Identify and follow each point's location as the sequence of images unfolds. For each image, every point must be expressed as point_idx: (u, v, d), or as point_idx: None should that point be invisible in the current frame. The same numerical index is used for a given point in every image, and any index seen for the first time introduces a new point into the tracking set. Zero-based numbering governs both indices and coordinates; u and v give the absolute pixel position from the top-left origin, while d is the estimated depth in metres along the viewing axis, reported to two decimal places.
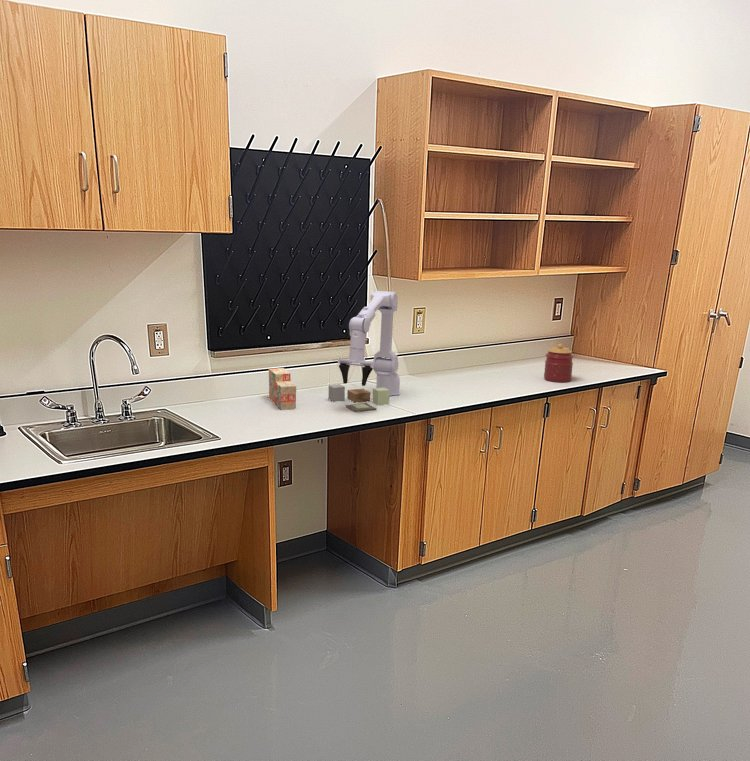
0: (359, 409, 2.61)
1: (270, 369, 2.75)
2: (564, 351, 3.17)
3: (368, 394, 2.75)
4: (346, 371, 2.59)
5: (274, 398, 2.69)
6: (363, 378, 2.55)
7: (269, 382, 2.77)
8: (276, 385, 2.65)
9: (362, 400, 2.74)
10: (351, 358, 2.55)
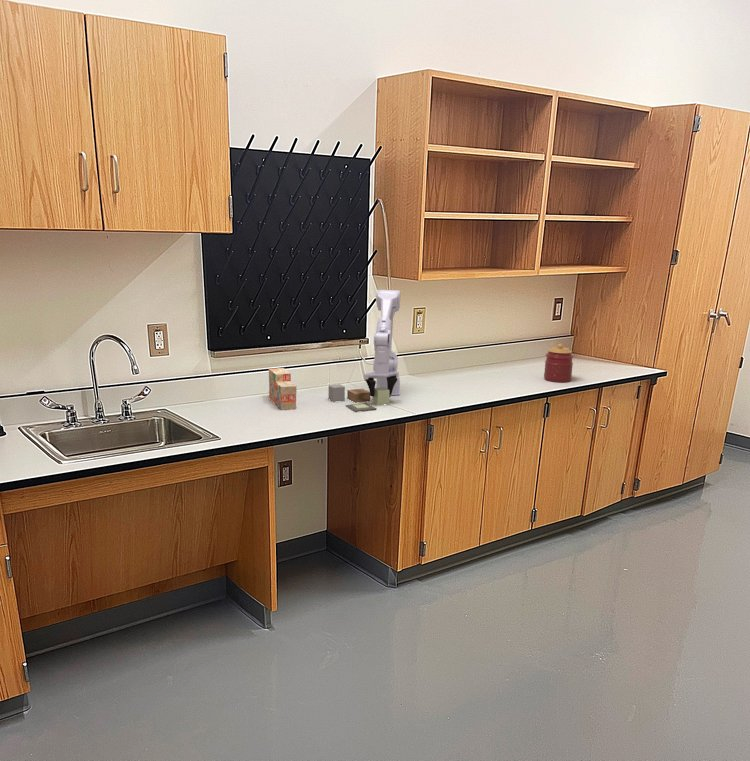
0: (359, 409, 2.61)
1: (270, 369, 2.75)
2: (564, 351, 3.17)
3: (368, 394, 2.75)
4: None
5: (274, 398, 2.69)
6: (392, 388, 2.72)
7: (269, 382, 2.76)
8: (276, 385, 2.64)
9: (362, 400, 2.74)
10: (382, 372, 2.67)
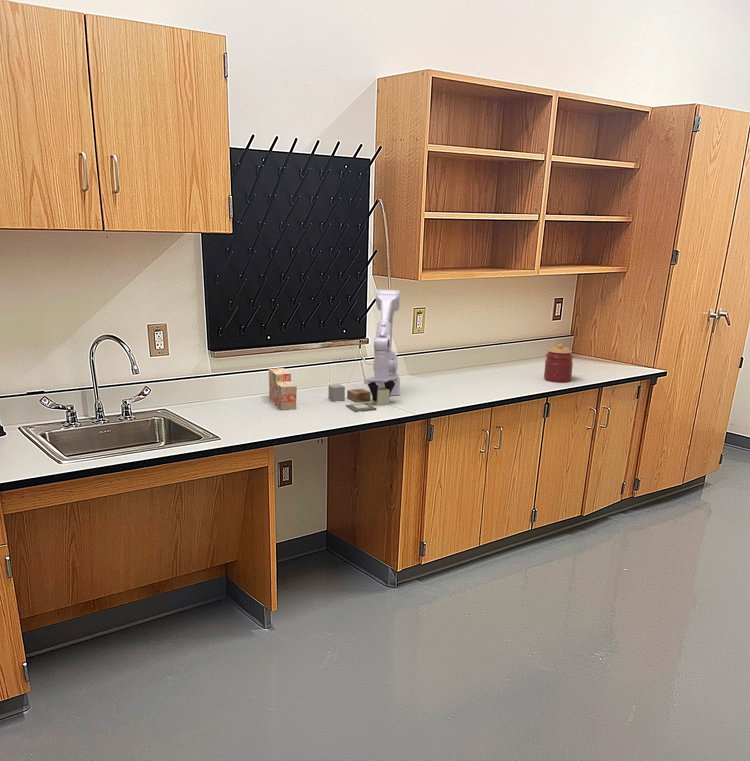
0: (359, 409, 2.61)
1: (270, 369, 2.74)
2: (564, 351, 3.17)
3: (368, 394, 2.75)
4: None
5: (274, 398, 2.69)
6: (389, 393, 2.72)
7: (269, 382, 2.76)
8: (276, 385, 2.64)
9: (362, 400, 2.74)
10: (382, 377, 2.68)
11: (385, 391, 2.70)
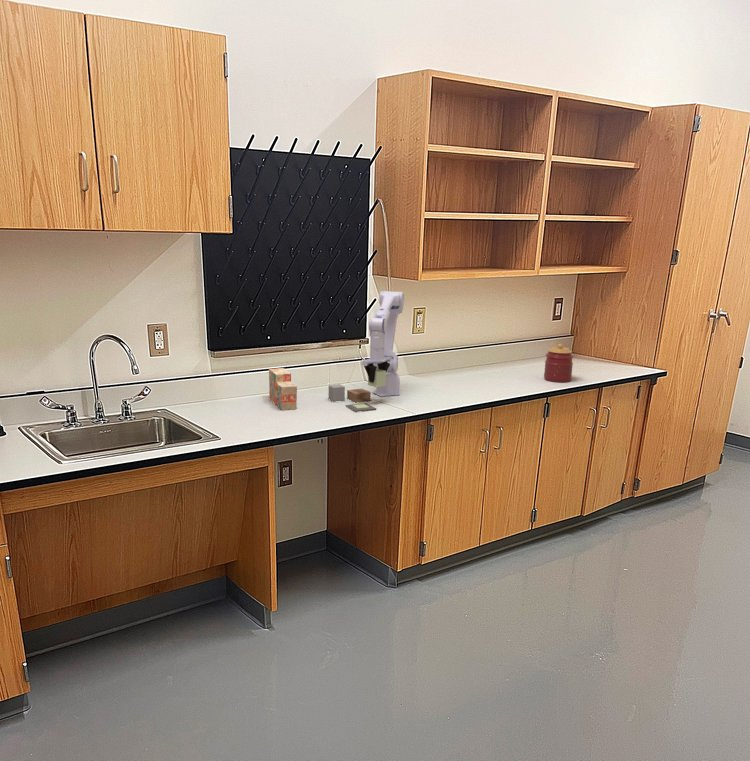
0: (359, 409, 2.61)
1: (270, 369, 2.74)
2: (564, 351, 3.17)
3: (368, 394, 2.75)
4: None
5: (274, 398, 2.69)
6: None
7: (269, 382, 2.76)
8: (277, 385, 2.64)
9: (363, 400, 2.74)
10: (380, 358, 2.67)
11: (382, 372, 2.70)
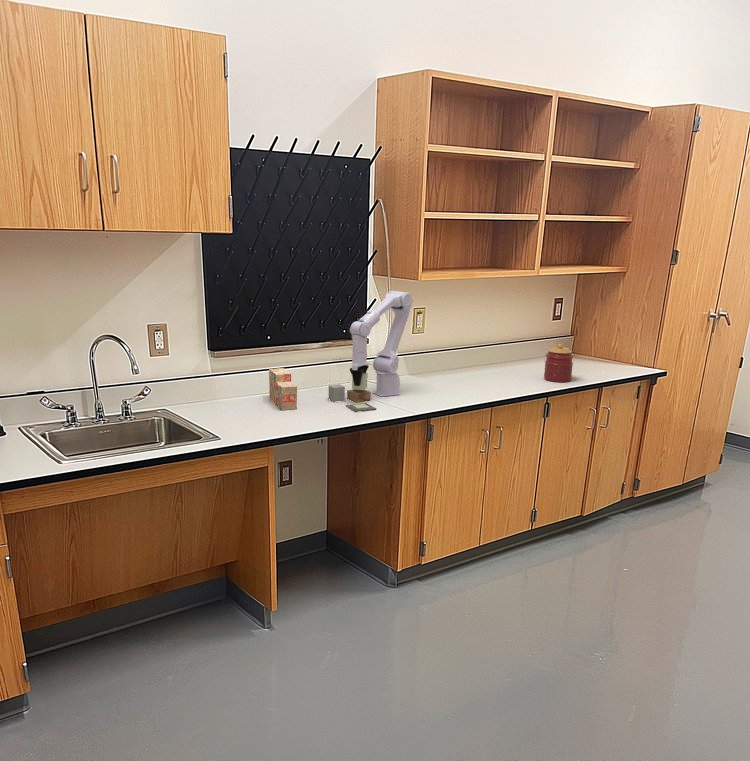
0: (359, 409, 2.61)
1: (270, 369, 2.74)
2: (564, 351, 3.17)
3: (368, 394, 2.75)
4: None
5: (275, 398, 2.69)
6: None
7: (269, 382, 2.76)
8: (277, 385, 2.64)
9: (363, 400, 2.74)
10: (365, 361, 2.72)
11: (366, 375, 2.75)
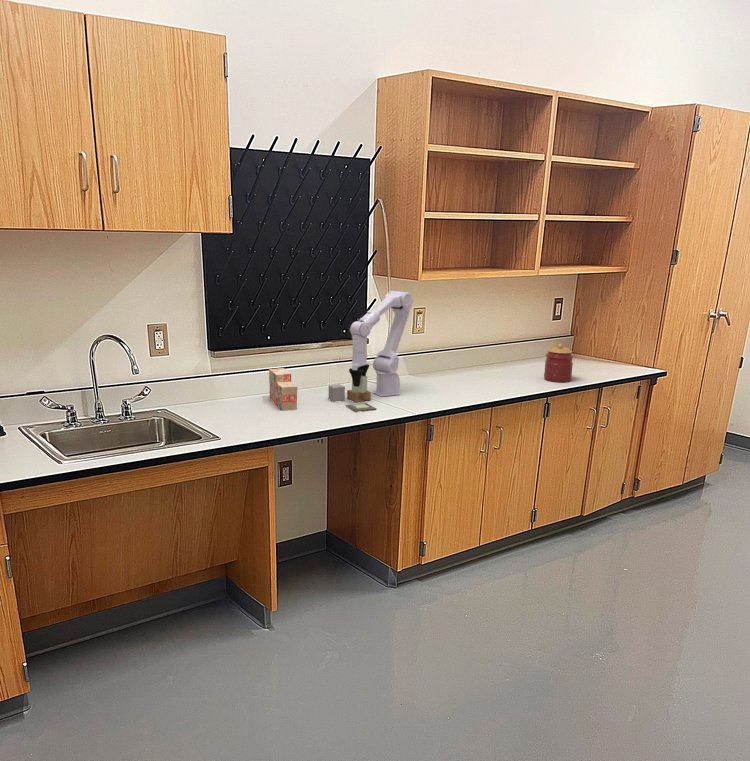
0: (359, 409, 2.61)
1: (270, 369, 2.74)
2: (564, 351, 3.17)
3: (368, 394, 2.75)
4: None
5: (275, 399, 2.68)
6: (365, 375, 2.79)
7: (269, 382, 2.76)
8: (277, 386, 2.64)
9: (363, 400, 2.74)
10: (365, 361, 2.72)
11: (366, 378, 2.75)
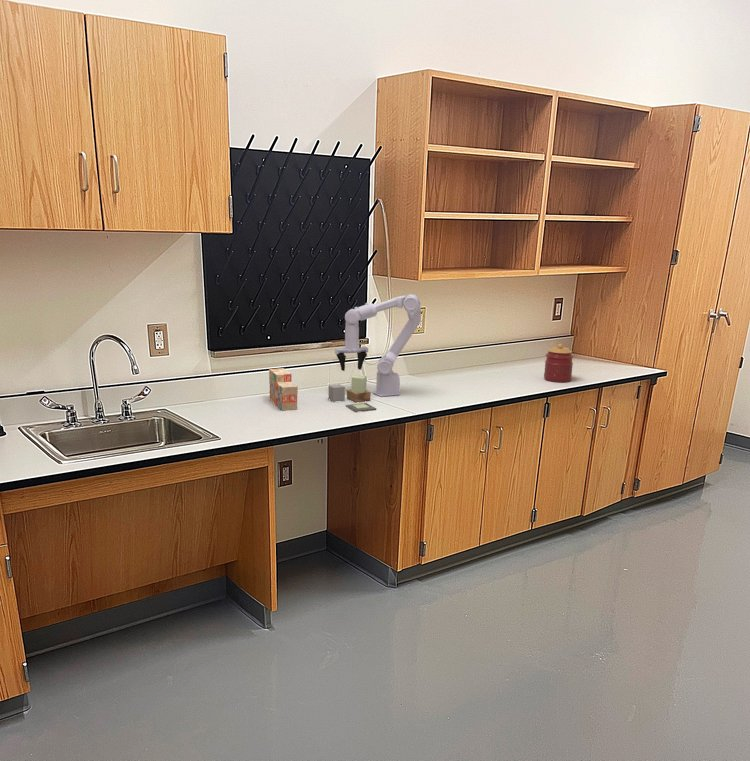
0: (359, 409, 2.61)
1: (271, 370, 2.74)
2: (564, 351, 3.17)
3: (368, 394, 2.75)
4: None
5: (275, 399, 2.68)
6: (361, 363, 2.87)
7: (270, 383, 2.75)
8: (277, 386, 2.64)
9: (363, 400, 2.74)
10: (352, 347, 2.82)
11: (365, 378, 2.75)
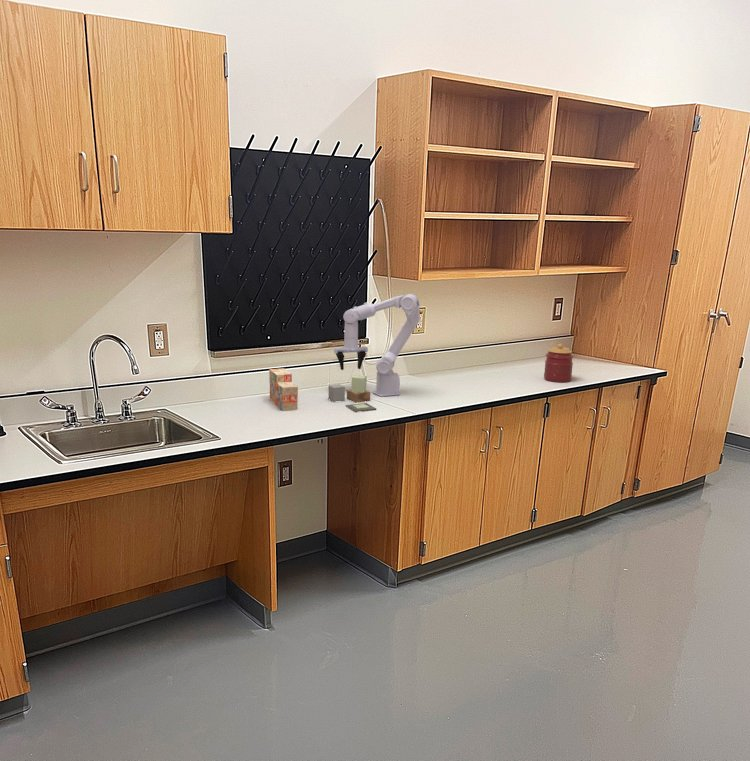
0: (359, 409, 2.61)
1: (271, 370, 2.73)
2: (564, 351, 3.17)
3: (368, 394, 2.75)
4: None
5: (275, 399, 2.68)
6: (361, 362, 2.88)
7: (270, 383, 2.75)
8: (277, 386, 2.63)
9: (363, 400, 2.75)
10: (350, 347, 2.84)
11: (365, 378, 2.76)
